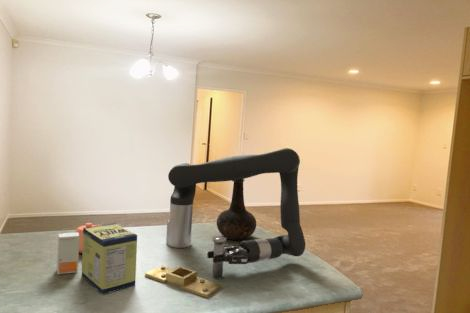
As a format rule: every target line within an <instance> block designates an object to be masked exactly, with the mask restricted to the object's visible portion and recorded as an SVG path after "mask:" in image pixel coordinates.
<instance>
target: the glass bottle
mask: <svg viewBox="0 0 470 313" xmlns="http://www.w3.org/2000/svg"><path fill="white" fill-rule="evenodd" d="M231 182H233V187H232V194H231V201H230V206H229V208H228V209H226V210H224V211H222V212H221V213H220V214H219V215H218V216H217V219H216V228H217V230H218V231H219V233H220V234H221V236H223V237H226V239H228V240H231V241H232V240H234V241H241V240H243V241H244V240H247V239H249V238H250V237H252V235H253V234H254V233H255V231H256V229H257V220H256V217H255V216H254V214H253V213H251V212H249V211H248V210H247V208H246V205H245V198H244V182H245V179H240V180H232V181H231Z"/></svg>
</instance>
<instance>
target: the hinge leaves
mask: <svg viewBox="0 0 470 313" xmlns="http://www.w3.org/2000/svg"><path fill="white" fill-rule="evenodd" d="M144 276H145V277H146V278H149V279H151V280H155V281H158V282H160V283H162V284H165V283H166V284H169V285H172V286H175V287H178V288H180V289H181V290H183V291H185V292H188V293H191V294H195V295H197V296H200V297H203V298H206V299H208V298H209V297H211V296H212V295H214V294H215V293H217V292H218V291H220V290H221V289H222V288H223V284H220V283H218V282H214V281H212V280H208V279H204V278H202V277H198V272H197V270H193V269H190V268H187V267H183V266H178V267H176V268H174V269H173V268H171V267H167V266H164V265H160V266H158V267H156V268H154V269H151V270H150V271H147V272H145V273H144Z"/></svg>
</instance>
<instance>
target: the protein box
mask: <svg viewBox="0 0 470 313" xmlns="http://www.w3.org/2000/svg"><path fill="white" fill-rule="evenodd" d="M99 225H100V226H97V225H96V226H93V227H86V228H83V252H82V253H81V254H82V256H81V258H82V261H81V277H82V278H83V279H84V280H85V281H86V282H88V284H89V285H91V287H93V288H94V289H95V290H97V291H98V292H99V293H100V294H101V295H105V294H109V293H111V292H115V291H119V290H123V289H126V288H130V287H133V286H136V277H137V276H136V274H137V250H138V249H137V247H138V235H137V234H136V233H134V232H132V231H130V230H128V229H126V228H124V227H123V226H120V225H119V224H117V223H115V222H114V223H110V224H109V223H108V224H99Z"/></svg>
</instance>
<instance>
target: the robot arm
mask: <svg viewBox="0 0 470 313" xmlns="http://www.w3.org/2000/svg"><path fill="white" fill-rule="evenodd" d="M300 162H301V160H300V156H299V154H298V153H297V151H295V150H293V149H292V148H288V147H286V148H285V147H283V148H281V149H278V150H274V151H270V152H266V153H265V152H264V153H261V154H243V155H241V154H240V155H234V156H226V157H221V158H219V159H218V158H217V159H214V160H211V161H208V162H204V163H199V164H198V163H197V164H190V163H187V162H186V163H180V164H175V165H174V166H173V167H172V168H171V169H170V170H169V172H168V181H169V183H170V184H171V185H172V186H174V187H173V192H172V194H171V196H170V202H169V203H170V204H169V205H170V206H169V218H168V220H167V221H166V222H167V223H166V238H165V240H166V241H165V242H166V243H165V244H167V245H168V246H170V247H171V248H176V249H178V248H179V249H181V248H182V249H184V248H189V247H190V246H191V245H192V232H193V231H192V227H193V213H194V212H193V211H194V210H193V209H194V199H195V196H196V192H197V190H196V189H197V184H203V183H221V182H230V181H231V182H233V181H232V180H240V179H244V180H245V179H248V178H252V177H256V176H259V175H263V174H274V173H275V174H277V173H279V178H280V209H279V210H280V224H281V228H282V229H284V230H285V231H286V232H287V234H283V235H278V236H276V237H273V238H270V237H269V238H264V239H263V238H258V239H257V238H256V239H249V240H248V239H246V240H243V241H241V242H240V243H239V245H232V246H230V244H229V243H225V244H224V254H221V255H214V256H213V253H214V250H209V251H207V256H206V257H207V258H208V259H212V263H213V262H214V263H217V262H223V263H228V264H229V265H247V264H252V263H258V262H263V261H266V260H271V259H276V258H279V257H281V256H282V255H288V256H292V257H300V256H302V255H303V254H304V252H305V251H306V239H305V237H304V232H303V229H302V225H301V216H300V204H299V193H298V192H299V191H298V190H299V189H298V176H299V169H300V168H299V167H300Z"/></svg>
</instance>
